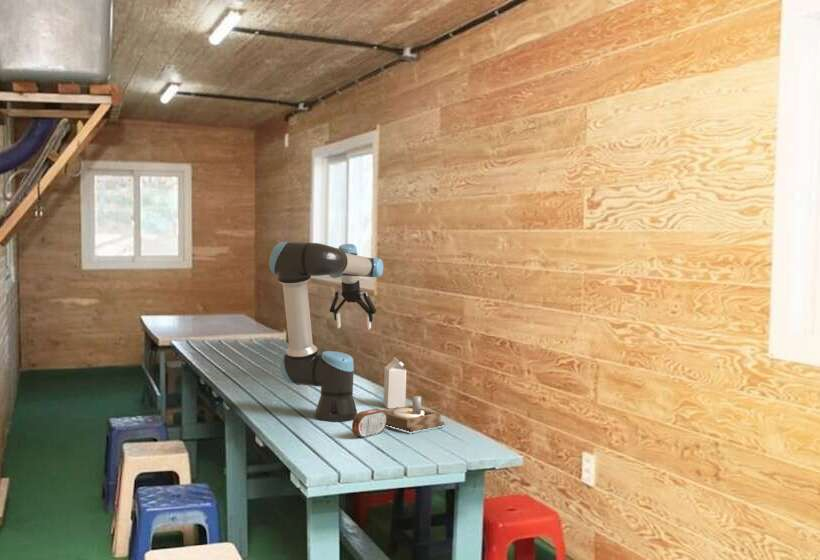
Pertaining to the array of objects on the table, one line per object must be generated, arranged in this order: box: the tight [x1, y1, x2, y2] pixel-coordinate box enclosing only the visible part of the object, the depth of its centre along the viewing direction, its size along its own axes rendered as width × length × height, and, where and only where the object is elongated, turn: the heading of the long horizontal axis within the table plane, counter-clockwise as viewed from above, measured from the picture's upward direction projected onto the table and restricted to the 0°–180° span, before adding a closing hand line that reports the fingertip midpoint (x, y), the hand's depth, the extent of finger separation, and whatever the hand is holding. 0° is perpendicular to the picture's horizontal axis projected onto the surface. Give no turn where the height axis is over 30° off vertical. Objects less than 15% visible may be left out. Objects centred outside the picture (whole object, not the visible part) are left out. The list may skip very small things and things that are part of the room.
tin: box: [351, 408, 387, 438], centre depth 254 cm, size 15×3×8 cm, turn 141°
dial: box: [393, 395, 424, 418], centre depth 270 cm, size 11×11×8 cm
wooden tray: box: [381, 405, 445, 432], centre depth 270 cm, size 16×20×5 cm
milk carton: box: [383, 356, 407, 409], centre depth 298 cm, size 7×7×19 cm
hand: (354, 328), depth 325 cm, fingers open, 13 cm apart
